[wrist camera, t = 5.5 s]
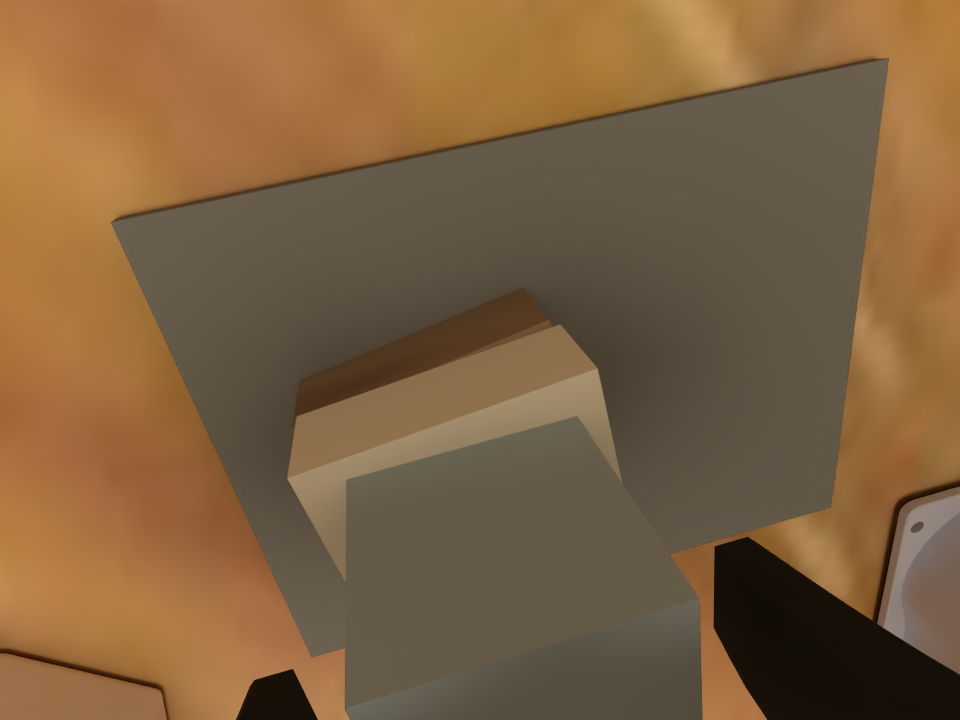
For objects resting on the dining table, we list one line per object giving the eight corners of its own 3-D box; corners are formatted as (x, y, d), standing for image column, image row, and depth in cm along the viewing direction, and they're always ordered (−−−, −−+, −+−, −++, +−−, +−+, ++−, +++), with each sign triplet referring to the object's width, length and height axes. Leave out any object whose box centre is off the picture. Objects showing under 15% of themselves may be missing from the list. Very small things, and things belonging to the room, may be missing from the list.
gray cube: (599, 580, 13) (704, 792, 10) (405, 639, 13) (430, 887, 9) (577, 415, 11) (699, 598, 7) (346, 479, 11) (345, 708, 7)
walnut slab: (584, 464, 18) (613, 513, 16) (396, 544, 18) (402, 603, 16) (522, 287, 15) (548, 319, 13) (298, 381, 15) (291, 428, 13)
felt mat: (822, 499, 21) (830, 507, 21) (312, 646, 19) (311, 657, 19) (875, 59, 15) (888, 58, 14) (117, 217, 13) (110, 222, 12)
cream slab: (607, 522, 16) (644, 584, 14) (392, 601, 16) (398, 677, 14) (560, 324, 13) (597, 368, 11) (296, 416, 13) (286, 478, 11)
